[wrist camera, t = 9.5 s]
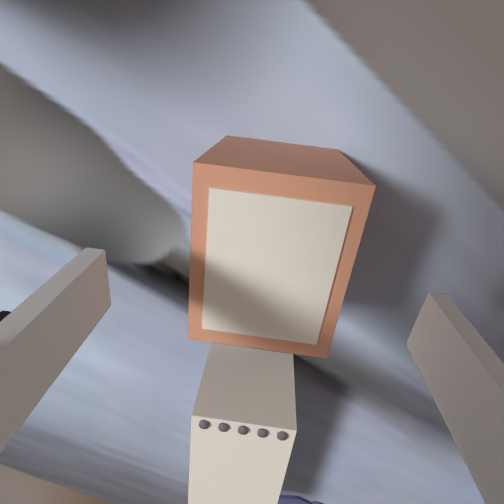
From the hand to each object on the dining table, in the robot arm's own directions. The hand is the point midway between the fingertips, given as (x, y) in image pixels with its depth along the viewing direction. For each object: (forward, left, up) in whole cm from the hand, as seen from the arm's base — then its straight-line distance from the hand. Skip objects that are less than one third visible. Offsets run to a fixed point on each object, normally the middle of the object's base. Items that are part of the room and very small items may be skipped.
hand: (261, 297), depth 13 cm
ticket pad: (+25, 0, -13) cm, 28 cm away
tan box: (0, 0, -13) cm, 13 cm away
